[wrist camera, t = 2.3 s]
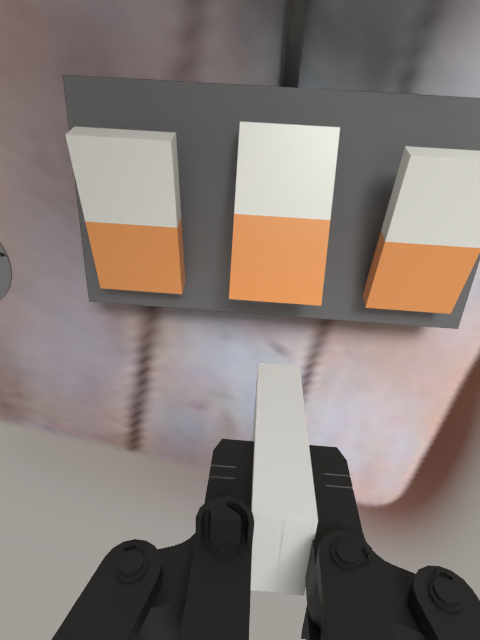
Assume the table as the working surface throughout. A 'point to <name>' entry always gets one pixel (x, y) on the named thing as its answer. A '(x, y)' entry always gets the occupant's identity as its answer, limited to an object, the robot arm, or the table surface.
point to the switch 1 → (131, 206)
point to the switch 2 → (427, 232)
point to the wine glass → (4, 272)
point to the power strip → (221, 170)
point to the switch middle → (282, 212)
